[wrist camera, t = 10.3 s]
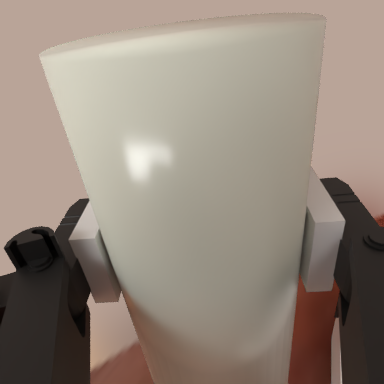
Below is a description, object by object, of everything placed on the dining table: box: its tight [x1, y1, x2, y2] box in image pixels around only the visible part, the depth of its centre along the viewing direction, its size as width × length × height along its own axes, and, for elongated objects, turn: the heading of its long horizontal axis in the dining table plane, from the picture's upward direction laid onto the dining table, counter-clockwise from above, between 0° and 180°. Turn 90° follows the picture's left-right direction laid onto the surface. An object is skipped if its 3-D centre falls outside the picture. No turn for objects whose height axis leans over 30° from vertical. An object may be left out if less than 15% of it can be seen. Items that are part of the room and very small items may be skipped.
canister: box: [39, 13, 326, 384], centre depth 11 cm, size 6×6×14 cm
